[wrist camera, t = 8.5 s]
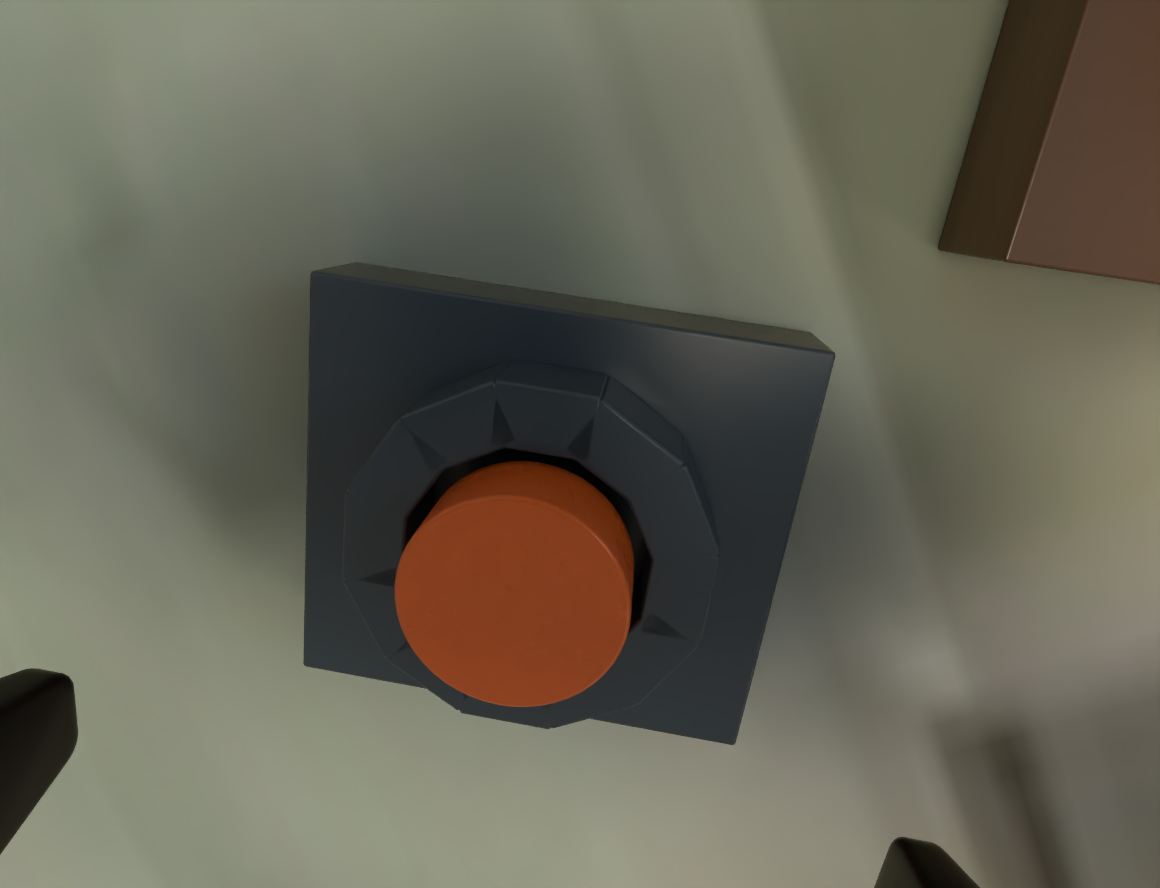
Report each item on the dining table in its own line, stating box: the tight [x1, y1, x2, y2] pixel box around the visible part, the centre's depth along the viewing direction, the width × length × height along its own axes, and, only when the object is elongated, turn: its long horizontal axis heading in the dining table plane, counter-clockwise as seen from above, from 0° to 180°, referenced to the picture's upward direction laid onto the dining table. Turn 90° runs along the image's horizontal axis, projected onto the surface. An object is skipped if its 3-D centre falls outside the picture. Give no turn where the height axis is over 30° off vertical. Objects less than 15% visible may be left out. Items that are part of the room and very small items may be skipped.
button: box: [395, 461, 634, 707], centre depth 13 cm, size 4×4×2 cm
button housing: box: [304, 262, 835, 745], centre depth 15 cm, size 10×9×4 cm
